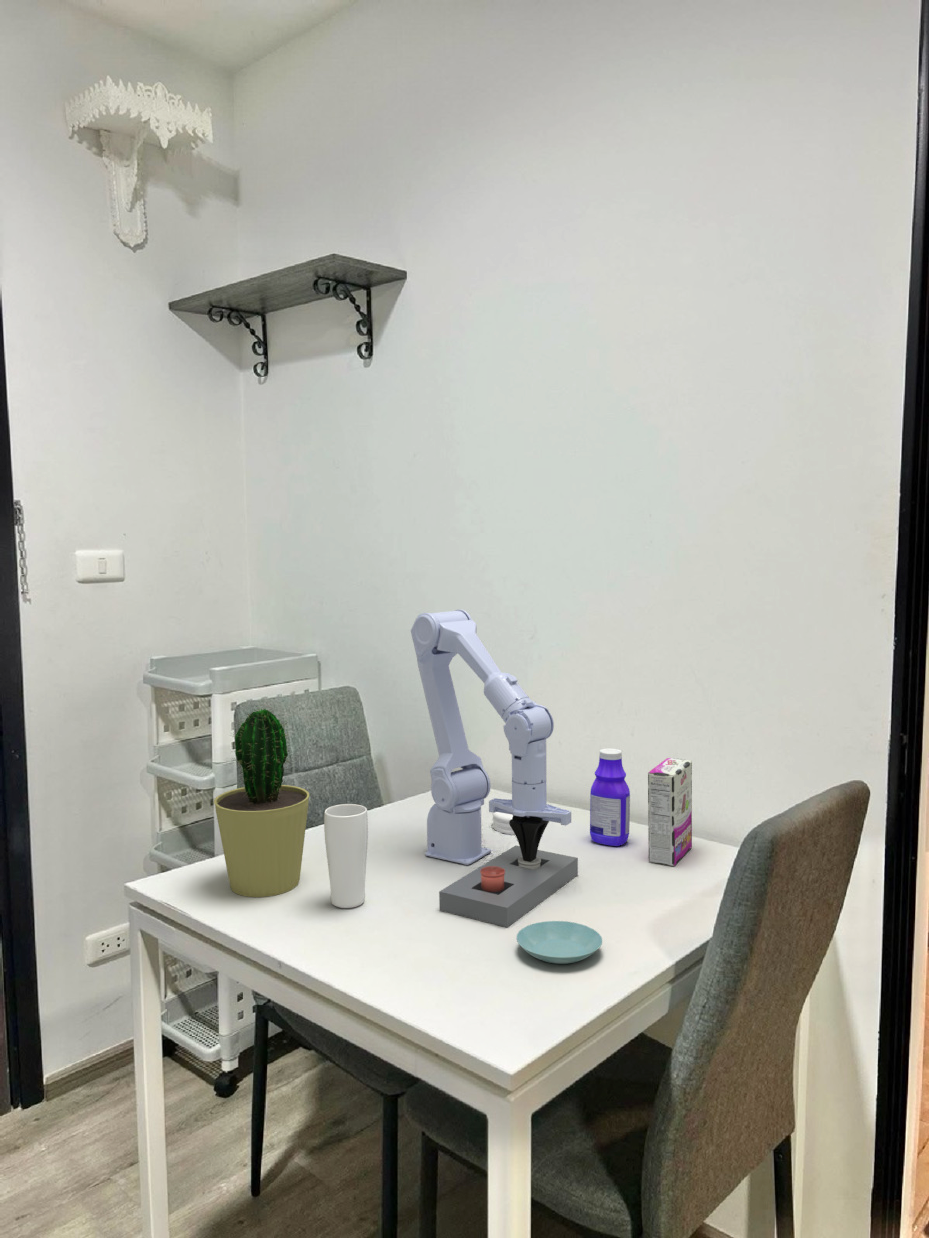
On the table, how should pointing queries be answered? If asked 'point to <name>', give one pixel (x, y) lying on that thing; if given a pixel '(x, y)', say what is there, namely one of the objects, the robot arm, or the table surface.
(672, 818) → the candy bar box
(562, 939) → the saucer
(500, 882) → the red button
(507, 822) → the white ridged round container
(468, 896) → the console
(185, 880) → the table surface
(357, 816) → the drinking glass
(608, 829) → the bottle
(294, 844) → the potted cactus
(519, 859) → the sample container
